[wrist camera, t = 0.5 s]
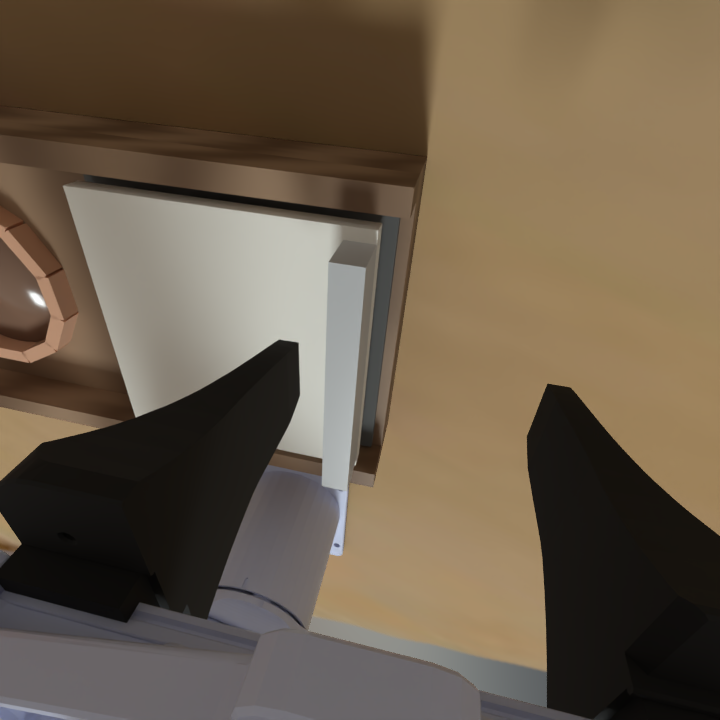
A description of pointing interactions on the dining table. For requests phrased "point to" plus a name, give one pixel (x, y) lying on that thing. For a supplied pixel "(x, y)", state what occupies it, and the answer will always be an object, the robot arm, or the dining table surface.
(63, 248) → the tray
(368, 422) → the panel
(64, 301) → the brown plate
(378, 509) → the dining table surface
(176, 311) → the sliding door
